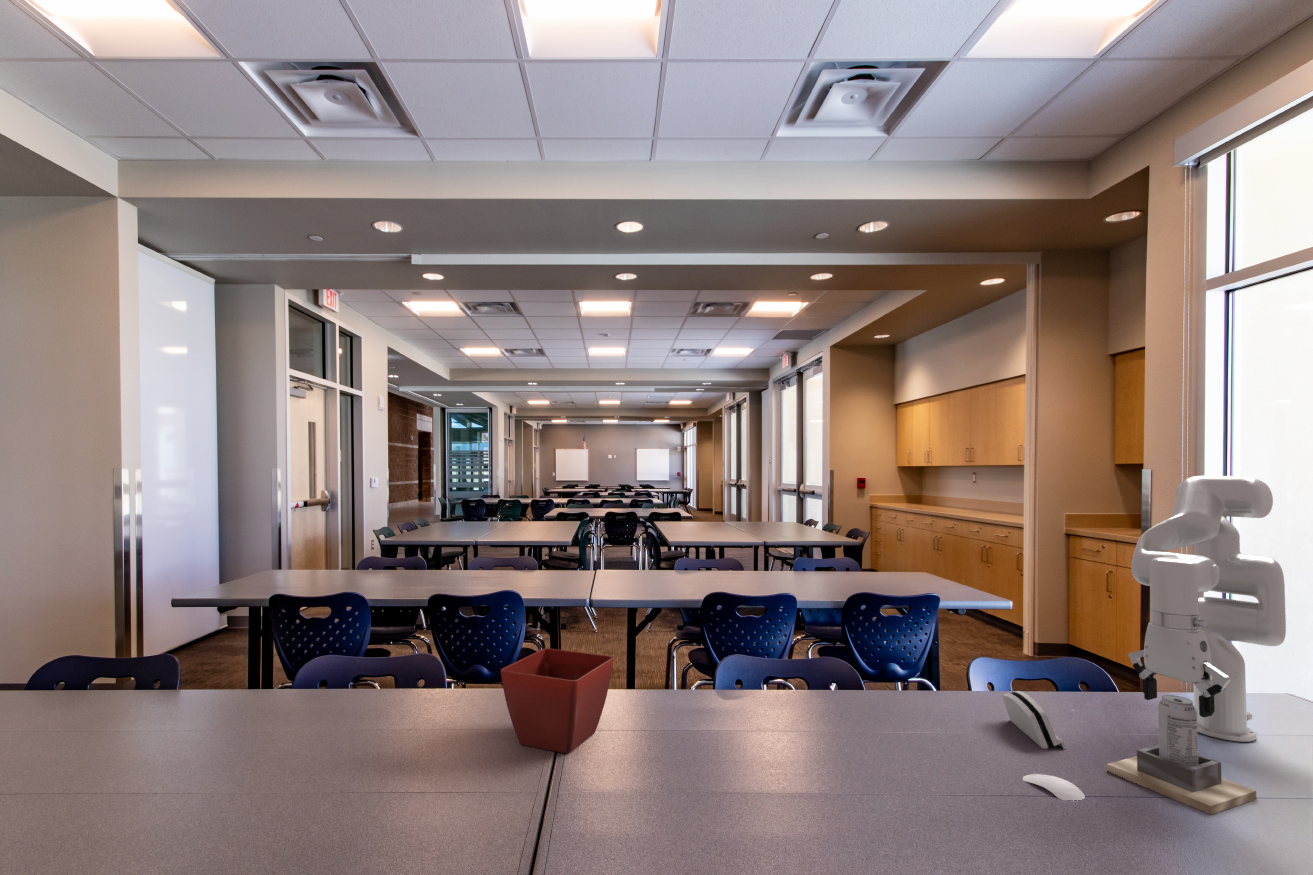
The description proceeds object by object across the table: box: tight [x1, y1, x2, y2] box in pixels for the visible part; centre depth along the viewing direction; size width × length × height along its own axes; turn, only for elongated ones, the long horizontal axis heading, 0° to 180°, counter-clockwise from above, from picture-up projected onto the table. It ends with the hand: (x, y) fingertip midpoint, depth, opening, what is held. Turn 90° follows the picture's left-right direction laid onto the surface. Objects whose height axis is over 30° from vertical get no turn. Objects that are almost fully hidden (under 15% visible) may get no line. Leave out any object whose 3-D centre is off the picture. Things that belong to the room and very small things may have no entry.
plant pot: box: [500, 648, 614, 754], centre depth 145 cm, size 19×19×17 cm
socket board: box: [1106, 744, 1257, 816], centre depth 127 cm, size 15×18×6 cm
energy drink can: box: [1157, 694, 1199, 767], centre depth 128 cm, size 6×6×15 cm
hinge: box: [1002, 690, 1067, 750], centre depth 152 cm, size 17×5×10 cm, turn 174°
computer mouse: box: [1022, 773, 1086, 802], centre depth 126 cm, size 7×12×2 cm, turn 21°
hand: (1177, 706), depth 128 cm, fingers open, 9 cm apart
